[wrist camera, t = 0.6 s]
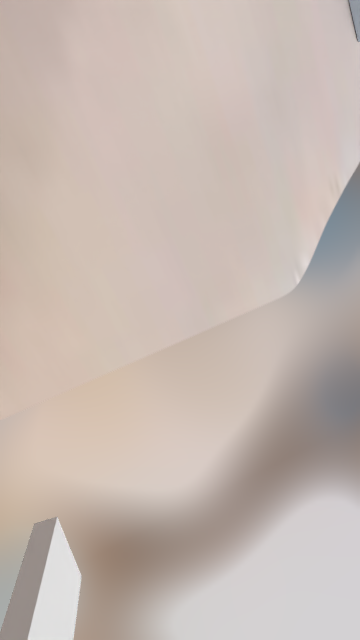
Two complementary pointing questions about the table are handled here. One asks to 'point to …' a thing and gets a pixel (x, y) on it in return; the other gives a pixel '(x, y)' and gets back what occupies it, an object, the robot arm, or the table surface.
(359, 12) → the carriage
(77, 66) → the table surface
